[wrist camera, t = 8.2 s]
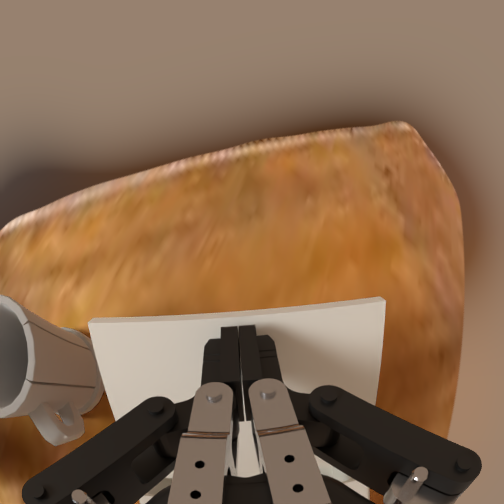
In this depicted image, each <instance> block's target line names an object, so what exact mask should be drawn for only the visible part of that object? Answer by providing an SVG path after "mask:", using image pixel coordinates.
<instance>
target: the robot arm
mask: <svg viewBox="0 0 504 504" xmlns="http://www.w3.org/2000/svg"><path fill="white" fill-rule="evenodd" d="M239 339H240V349H239ZM203 355H204V356H203V365H202V377H201V387H200V388H198V390H197V391H196V393H195V396H194V397H192V398H191V399H189V400H186V401H183V402H179V403H175V404H174V403H173V402H172V401H171V400H170V399H168V398H166V397H162V396H155V397H151V398H148V399H146V400H145V401H143V402H142V403H140V404H139V405H138V406H136V407H135V408H133V409H132V410H131V411H129V412H128V413H127V414H125V415H124V416H122V417H121V418H120V419H118V420H117V421H115V422H114V423H113V424H111V425H110V426H108V427H107V428H106V429H104V430H103V431H101V432H100V433H98V434H97V435H96V436H94V437H93V438H91V439H90V440H88V441H87V442H85V443H84V444H83V445H81V446H80V447H78V448H77V449H75V450H74V451H72V452H71V453H69V454H68V455H66V456H65V457H63V458H62V459H60V460H59V461H57V462H56V463H54V464H53V465H51V466H50V467H48V468H47V469H45V470H43V471H42V472H40V473H39V474H37V475H36V476H34V477H33V478H31V479H29V480H28V481H27V482H26V483H25V485H24V486H23V489H22V498H23V501H24V502H25V504H134V503H135V502H137V501H138V500H139V499H140V498H142V497H143V496H144V495H145V494H146V493H148V492H149V491H150V490H151V489H152V488H154V487H155V486H156V485H157V484H158V483H159V482H161V481H162V480H163V479H164V478H165V477H166V476H168V475H169V474H170V473H171V472H172V471H173V470H174V473H173V478H172V483H171V485H169V486H167V487H166V488H164V489H162V490H161V491H159V492H158V493H157V494H155V495H154V496H153V497H152V498H151V499H150V500H149V501H148V502H147V503H145V504H375V503H373V502H372V501H370V500H368V499H367V498H365V497H364V496H362V495H360V494H359V493H357V492H356V491H354V490H353V489H351V488H349V487H348V486H346V485H345V484H343V483H342V482H340V481H339V480H336V479H334V478H332V477H329V476H327V475H323V474H321V473H320V470H319V467H318V464H317V461H316V458H315V456H314V455H316V456H318V457H319V458H321V459H322V460H324V461H325V462H327V463H328V464H330V465H332V466H333V467H335V468H336V469H338V470H340V471H341V472H343V473H345V474H346V475H348V476H350V477H351V478H353V479H355V480H356V481H358V482H360V483H362V484H363V485H365V486H367V487H369V488H370V489H372V490H374V491H376V492H378V493H379V494H381V495H383V496H384V498H383V502H384V504H454V503H455V501H456V500H457V498H458V497H459V496H460V495H461V494H462V493H463V492H464V491H465V490H466V489H467V488H468V487H469V485H470V484H471V483H472V482H473V481H474V480H475V478H476V477H477V476H478V475H479V473H480V471H481V467H482V464H481V460H480V457H479V456H478V455H477V454H476V453H475V452H474V451H472V450H470V449H468V448H465V447H463V446H460V445H458V444H456V443H453V442H451V441H449V440H447V439H444V438H442V437H440V436H437V435H435V434H433V433H431V432H429V431H426V430H424V429H422V428H420V427H418V426H416V425H413V424H411V423H409V422H407V421H405V420H403V419H401V418H399V417H397V416H395V415H393V414H390V413H388V412H386V411H384V410H382V409H380V408H378V407H376V406H374V405H372V404H370V403H368V402H366V401H364V400H363V399H361V398H359V397H357V396H355V395H353V394H351V393H349V392H347V391H345V390H343V389H341V388H339V387H337V386H333V385H324V386H320V387H317V388H315V389H314V390H313V391H312V392H311V393H310V394H308V393H300V392H295V391H293V390H291V389H289V388H288V387H287V386H286V385H285V384H284V382H283V380H282V375H281V370H280V365H279V361H278V357H277V351H276V346H275V342H274V340H273V339H272V338H271V337H270V336H269V335H258V336H257V334H256V327H255V325H242V326H239V338H238V328H237V326H228V327H221V337H220V338H217V339H209V340H208V342H207V343H206V345H205V346H204V354H203ZM240 356H241V360H240ZM241 372H242V375H241ZM242 385H243V391H242ZM243 395H244V405H245V414H246V421H251V426H252V436H253V442H254V447H255V452H256V457H257V462H258V467H259V472H260V474H258V475H255V476H251V477H246V478H245V477H237V470H238V449H239V431H240V428H239V422H243V421H244V406H243Z"/></svg>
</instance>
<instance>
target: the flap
mask: <svg viewBox="0 0 504 504" xmlns="http://www.w3.org/2000/svg"><path fill="white" fill-rule="evenodd" d="M385 307H386V300H384V299H383V298H381V297H372V298H365V299H357V300H348V301H340V302H331V303H323V304H313V305H304V306H294V307H283V308H272V309H261V310H249V311H236V312H222V313H206V314H189V315H170V316H146V317H112V318H92V319H91V320H90V321H89V322H88V327H89V331H90V335H91V340H92V344H93V348H94V352H95V355H96V359H97V363H98V366H99V370H100V374H101V377H102V380H103V384H104V387H105V390H106V394H107V397H108V400H109V403H110V406H111V409H112V412H113V415H114V418H115V421H117V420H118V419H120V418H121V417H122V416H124V415H125V414H127V413H128V412H129V411H131V410H132V409H133V408H135V407H136V406H138V405H139V404H140V403H142V402H143V401H145V400H146V399H148V398H151V397H155V396H162V397H166V398H168V399H170V400H171V401H172V402H173V403H174V404H175V403H179V402H183V401H186V400H189V399H191V398H192V397H194V396H195V393H196V391H197V390H198V388H200V387H201V377H202V365H203V356H204V355H203V354H204V346H205V345H206V343H207V342H208V340H209V339H217V338H220V337H221V327H228V326H237V328H238V338H239V326H242V325H255V327H256V334H257V336H258V335H269V336H270V337H271V338H272V339H273V340H274V342H275V346H276V351H277V357H278V361H279V365H280V370H281V375H282V380H283V382H284V384H285V385H286V386H287V387H288V388H289V389H291V390H293V391H295V392H300V393H308V394H310V393H311V392H312V391H313V390H314V389H315V388H317V387H320V386H324V385H333V386H337V387H339V388H341V389H343V390H345V391H347V392H349V393H351V394H353V395H355V396H357V397H359V398H361V399H363V400H364V401H366V402H368V403H370V404H372V405H374V406H375V404H376V397H377V390H378V383H379V375H380V366H381V357H382V347H383V336H384V323H385ZM239 349H240V339H239ZM240 360H241V356H240ZM241 375H242V372H241ZM242 391H243V385H242ZM243 406H244V421H243V422H239V428H240V431H239V449H238V470H237V472H251V471H259V467H258V462H257V457H256V452H255V447H254V442H253V436H252V426H251V421H246V414H245V405H244V395H243ZM314 456H315V458H316V461H317V463H322V462H325V461H324V460H322V459H321V458H319V457H318V456H316V455H314ZM171 473H174V470H173V471H172V472H171Z"/></svg>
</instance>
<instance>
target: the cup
mask: <svg viewBox="0 0 504 504" xmlns="http://www.w3.org/2000/svg"><path fill="white" fill-rule="evenodd" d="M104 390H105V387H104V384H103V380H102V377H101V374H100V370H99V366H98V363H97V359H96V355H95V352H94V348H93V344H92V340H91V339H90V338H89V337H87V336H86V335H84V334H83V333H81V332H79V331H77V330H74V329H70V328H66V327H62V328H60V327H57V326H55V325H53V324H51V323H49V322H48V321H46V320H44V319H42V318H41V317H39V316H37V315H36V314H34V313H33V312H31V311H29V310H28V309H26V308H25V307H23V306H22V305H20V304H19V303H18V302H16V301H15V300H13V299H12V298H10V297H8V296H4V295H0V418H10V417H18V416H25V415H29V416H30V418H31V419H32V421H33V422H34V424H35V425H36V427H37V428H38V430H39V431H40V433H41V434H42V436H43V437H44V439H45V440H46V441H48V442H49V443H51V444H53V445H54V446H58V445H61V444H64V443H66V442H69V441H72V440H75V439H77V438H80V437H81V436H82V435H83V434H84V433H85V431H84V421H83V419H82V417H81V415H82V414H85V413H87V412H89V411H91V410H92V409H93V408H94V407H95V406H96V405H97V404H98V403H99V401H100V399H101V397H102V394H103V392H104ZM55 413H56V414H58V415H60V417H61V419H62V421H63V422H61V421H60V420H59V419H58V418H57V416H56V414H55Z"/></svg>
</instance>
